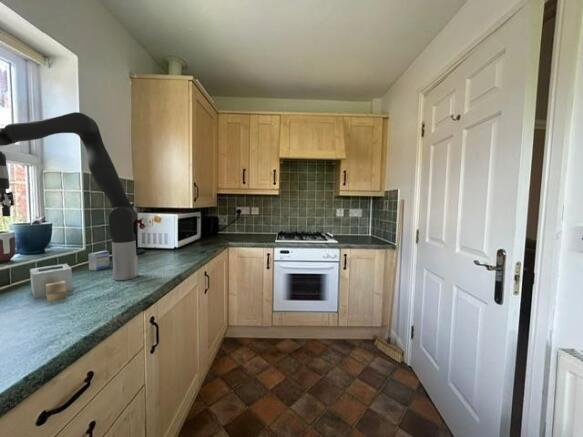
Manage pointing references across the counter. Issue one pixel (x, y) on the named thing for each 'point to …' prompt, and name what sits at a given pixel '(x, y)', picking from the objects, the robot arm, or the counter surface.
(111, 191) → the robot arm
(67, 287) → the money box
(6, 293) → the counter surface
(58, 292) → the tan brown box
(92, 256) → the medicine box
